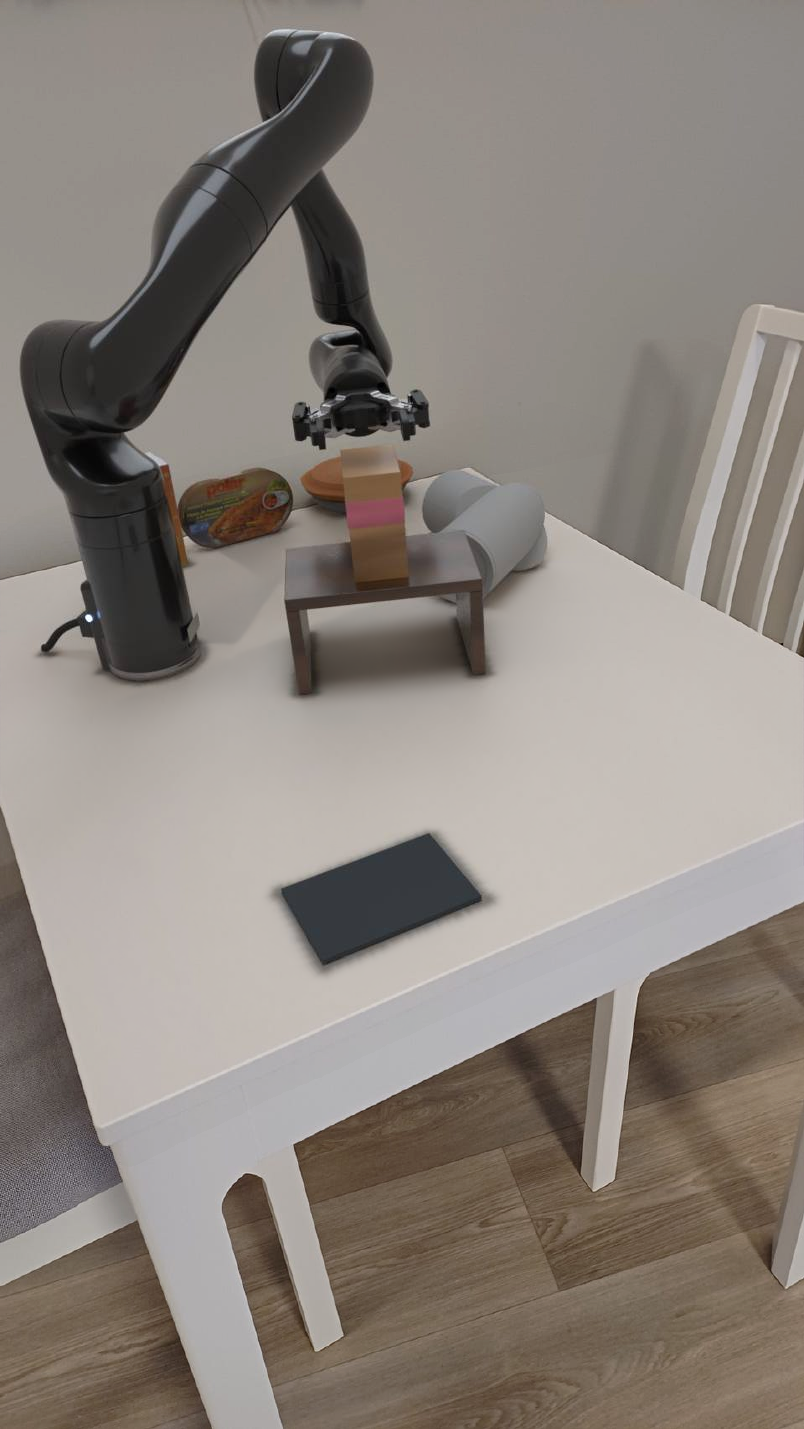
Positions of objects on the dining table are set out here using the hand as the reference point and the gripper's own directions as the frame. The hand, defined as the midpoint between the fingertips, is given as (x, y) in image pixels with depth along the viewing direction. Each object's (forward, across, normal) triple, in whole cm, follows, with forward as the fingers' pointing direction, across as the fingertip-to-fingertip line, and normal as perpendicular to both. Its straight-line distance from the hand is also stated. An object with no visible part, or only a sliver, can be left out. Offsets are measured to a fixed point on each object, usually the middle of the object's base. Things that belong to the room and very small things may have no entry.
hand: (364, 435), depth 99 cm
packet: (+11, 0, +9) cm, 14 cm away
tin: (-25, -17, +19) cm, 36 cm away
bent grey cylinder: (-7, +11, +19) cm, 23 cm away
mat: (+46, -3, +19) cm, 50 cm away
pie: (-34, -1, +19) cm, 39 cm away
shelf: (+11, 0, +19) cm, 22 cm away
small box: (-18, -28, +19) cm, 38 cm away
